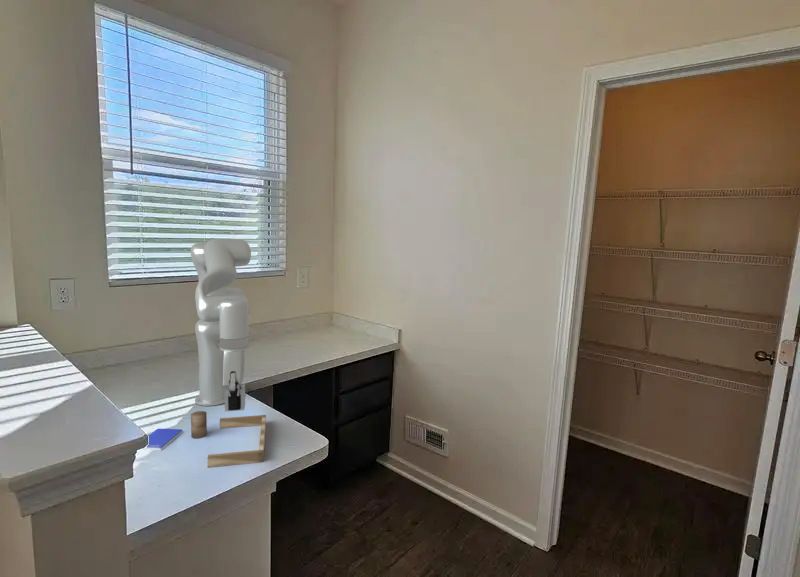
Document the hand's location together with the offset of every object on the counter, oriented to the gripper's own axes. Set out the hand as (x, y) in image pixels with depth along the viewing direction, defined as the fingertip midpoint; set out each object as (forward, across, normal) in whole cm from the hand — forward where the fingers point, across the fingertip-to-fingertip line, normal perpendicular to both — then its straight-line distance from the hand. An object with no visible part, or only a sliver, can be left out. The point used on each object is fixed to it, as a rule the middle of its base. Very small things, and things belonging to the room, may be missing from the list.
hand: (235, 405), depth 127 cm
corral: (+14, -6, 0) cm, 15 cm away
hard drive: (+15, -13, -23) cm, 30 cm away
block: (+1, 0, 0) cm, 1 cm away
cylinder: (+14, -14, -12) cm, 23 cm away
